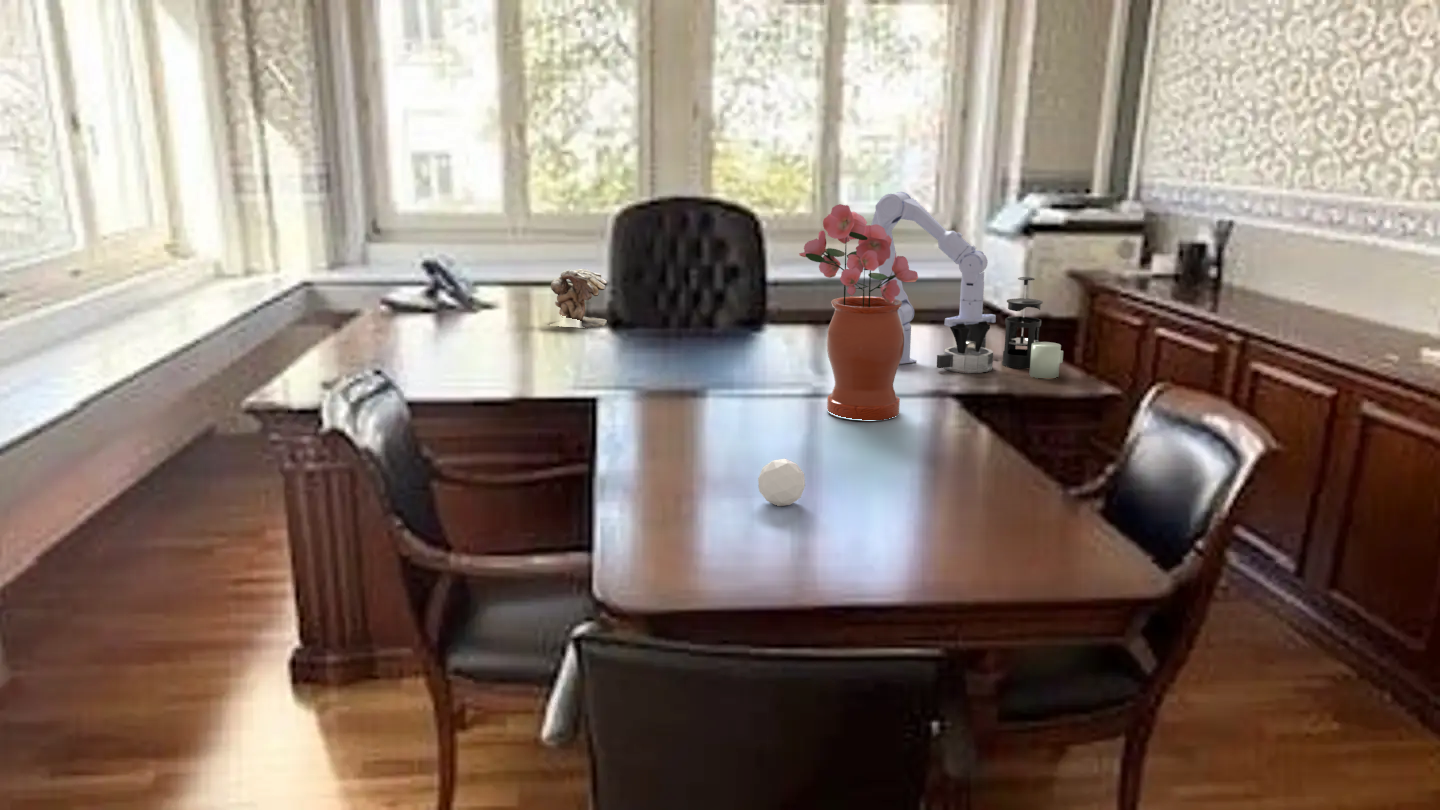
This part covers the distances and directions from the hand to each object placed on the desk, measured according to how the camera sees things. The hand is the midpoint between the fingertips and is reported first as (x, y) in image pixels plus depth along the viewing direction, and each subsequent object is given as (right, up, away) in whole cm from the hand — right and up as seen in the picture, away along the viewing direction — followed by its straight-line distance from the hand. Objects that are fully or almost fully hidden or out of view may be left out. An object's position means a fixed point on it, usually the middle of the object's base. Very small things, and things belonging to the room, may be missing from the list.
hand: (968, 351), depth 270 cm
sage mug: (+17, -6, -7) cm, 20 cm away
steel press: (-2, -4, 0) cm, 5 cm away
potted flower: (-34, -15, -39) cm, 54 cm away
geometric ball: (-54, -30, -95) cm, 113 cm away
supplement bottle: (+6, +1, +19) cm, 20 cm away
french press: (+14, -3, +5) cm, 16 cm away
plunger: (0, -4, +1) cm, 4 cm away
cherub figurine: (-109, +12, +66) cm, 128 cm away
